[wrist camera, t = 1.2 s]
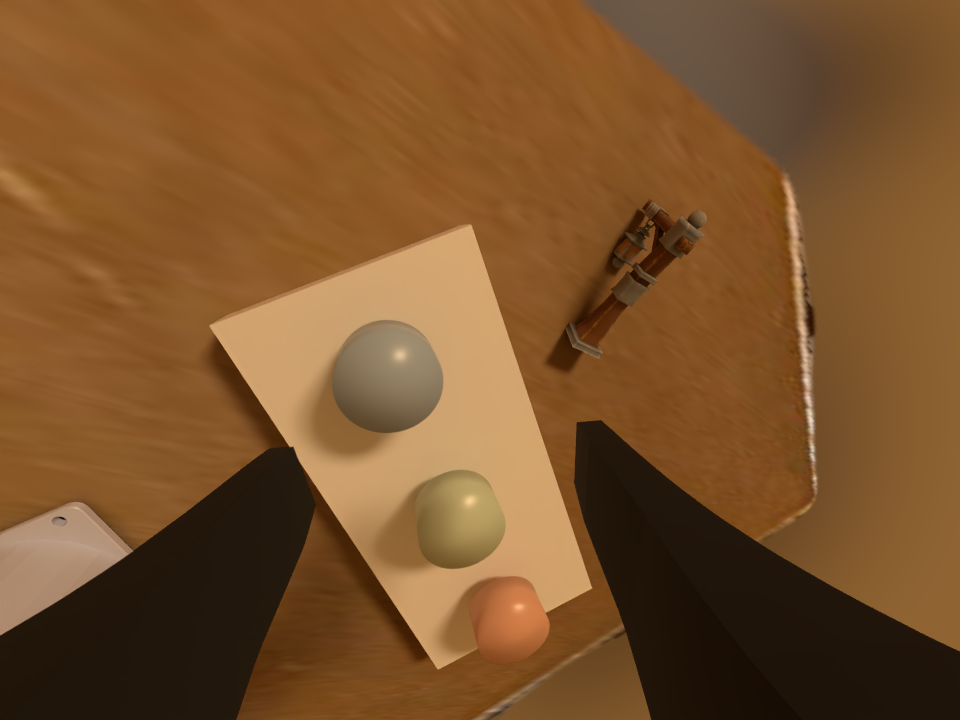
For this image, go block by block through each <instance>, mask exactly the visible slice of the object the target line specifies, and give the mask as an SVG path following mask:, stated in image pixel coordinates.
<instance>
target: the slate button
mask: <svg viewBox="0 0 960 720" xmlns="http://www.w3.org/2000/svg"><path fill="white" fill-rule="evenodd" d="M332 389H333V395H334V398H335V401H336V403H337V405H338V407H339V409H340V410H341V412H342V413H343V414H344V415H345V416H346V418H348V419H349V420H350V421H351V422H352V423H354V424H356V425H357V426H359V427H361V428H363V429H366V430H369V431H373V432H378V433H394V432H400V431H404V430H407V429H409V428H412V427H414V426H416V425H418V424H419V423H421V422H422V421H423V420H425V419H426V418H427V417H428V416H429V415H430V414H431V413H432V412H433V410H434V409H435V407H436V406H437V404H438V402H439V400H440V397H441V395H442V390H443V372H442V368H441V365H440V363H439V361H438V359H437V356H436V354H435V352H434V350H433V348H432V346H431V344H430V342H429V341H428V340H427V338H426V337H425V336H424V335H423V334H422V333H421V332H420V331H419V330H417V329H416V328H414V327H413V326H411V325H409V324H407V323H404V322H400V321H395V320H379V321H374V322H371V323H368V324H365V325H363V326H361V327H360V328H358V329H357V330H355V331H354V332H353V333H352V334H351V335H350V336H349V337H348V338H347V339H346V340H345V342H344V343H343V345H342V347H341V349H340V352H339V355H338V359H337V362H336V366H335V369H334V373H333V379H332Z"/></svg>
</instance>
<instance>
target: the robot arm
mask: <svg viewBox="0 0 960 720" xmlns="http://www.w3.org/2000/svg"><path fill="white" fill-rule="evenodd" d="M574 484H575V488H576V492H577V496H578V500H579V504H580V507H581V511H582V515H583V519H584V522H585V525H586V527H587V530H588V533H589V535H590V538H591V540H592V543H593V546H594V548H595V551H596V554H597V556H598V559H599V561H600V564H601V566H602V569H603V572H604V574H605V577H606V579H607V582H608V585H609V587H610V590H611V592H612V595H613V597H614V600H615V603H616V605H617V608H618V610H619V613H620V616H621V619H622V622H623V625H624V627H625V630H626V633H627V636H628V640H629V643H630V647H631V650H632V653H633V657H634V660H635V664H636V667H637V671H638V674H639V677H640V681H641V684H642V688H643V691H644V695H645V698H646V702H647V706H648V709H649V713H650V716H651V720H960V651H958V650H955V649H953V648H951V647H949V646H947V645H945V644H943V643H940V642H938V641H936V640H934V639H932V638H930V637H928V636H926V635H924V634H922V633H920V632H918V631H916V630H914V629H912V628H910V627H908V626H907V625H905V624H903V623H901V622H899V621H897V620H895V619H893V618H891V617H889V616H887V615H885V614H883V613H881V612H879V611H877V610H875V609H873V608H871V607H869V606H868V605H865V604H864V603H862V602H860V601H858V600H856V599H855V598H853V597H851V596H849V595H847V594H845V593H843V592H842V591H840V590H838V589H836V588H834V587H832V586H830V585H829V584H827V583H825V582H823V581H822V580H820V579H818V578H817V577H815V576H813V575H811V574H810V573H808V572H806V571H804V570H802V569H801V568H799V567H797V566H796V565H794V564H792V563H791V562H789V561H787V560H785V559H784V558H782V557H780V556H779V555H777V554H776V553H774V552H772V551H771V550H769V549H767V548H766V547H764V546H763V545H761V544H759V543H758V542H756V541H755V540H753V539H752V538H750V537H749V536H747V535H746V534H744V533H743V532H741V531H740V530H738V529H737V528H735V527H734V526H732V525H731V524H729V523H727V522H726V521H724V520H723V519H722V518H720V517H719V516H717V515H716V514H714V513H713V512H712V511H710V510H709V509H707V508H706V507H705V506H703V505H702V504H701V503H699V502H698V501H697V500H695V499H694V498H693V497H691V496H690V495H689V494H687V493H686V492H685V491H683V490H682V489H681V488H679V487H678V486H677V485H676V484H674V483H673V482H672V481H670V480H669V479H668V478H667V477H666V476H664V475H663V474H662V473H661V472H660V471H658V470H657V469H656V468H655V467H654V466H652V465H651V464H650V463H649V462H648V461H646V460H645V459H644V458H643V457H642V456H641V455H639V454H638V453H637V452H636V451H635V450H634V449H633V448H632V447H630V446H629V445H628V444H627V443H626V442H625V441H624V440H623V439H621V438H620V437H619V436H618V435H617V434H616V433H615V432H614V431H613V430H611V429H610V428H609V427H608V426H607V425H606V424H605V423H604V422H602V421H601V420H599V421H587V422H577V430H576V455H575V479H574ZM315 505H316V504H315V501H314V499H313V496H312V494H311V491H310V488H309V486H308V483H307V481H306V478H305V475H304V473H303V470H302V468H301V465H300V462H299V460H298V457H297V455H296V452H295V449H294V447H282V448H270V449H268V450H267V451H265V452H264V453H262V454H261V455H260V456H258V457H257V458H255V459H254V460H253V461H251V462H250V463H249V464H248V465H246V466H245V467H244V468H242V469H241V470H240V471H238V472H237V473H236V474H235V475H233V476H232V477H231V478H229V479H228V480H227V481H226V482H224V483H223V484H222V485H221V486H219V487H218V488H217V489H215V490H214V491H213V492H212V493H210V494H209V495H208V496H206V497H205V498H204V499H203V500H201V501H200V502H199V503H197V504H196V505H195V506H194V507H192V508H191V509H190V510H188V511H187V512H186V513H184V514H183V515H182V516H180V517H179V518H178V519H176V520H175V521H174V522H172V523H171V524H169V525H168V526H167V527H165V528H164V529H163V530H161V531H160V532H159V533H157V534H156V535H154V536H153V537H152V538H150V539H149V540H148V541H146V542H145V543H144V544H142V545H141V546H139V547H138V548H137V549H135V550H134V551H133V550H132V549H131V548H130V547H129V546H128V545H127V544H126V543H125V542H124V541H123V540H122V539H121V538H120V537H119V536H118V535H117V534H116V533H115V532H114V531H113V530H112V529H110V528H109V527H108V526H107V525H106V524H105V523H104V522H103V521H102V520H101V519H100V518H99V517H98V516H97V515H96V514H95V513H94V512H93V511H92V510H91V509H90V508H89V507H88V506H87V505H85V504H84V503H80V502H72V503H68V504H66V505H63V506H61V507H58V508H56V509H54V510H51V511H49V512H47V513H44V514H42V515H39V516H37V517H35V518H32V519H30V520H28V521H25V522H23V523H21V524H18V525H16V526H13V527H11V528H9V529H6V530H4V531H2V532H0V720H236V719H237V716H238V713H239V710H240V707H241V704H242V700H243V697H244V694H245V691H246V688H247V685H248V682H249V679H250V676H251V673H252V670H253V667H254V664H255V662H256V659H257V657H258V654H259V651H260V649H261V646H262V644H263V641H264V639H265V636H266V634H267V632H268V629H269V627H270V625H271V622H272V620H273V618H274V615H275V613H276V611H277V608H278V606H279V604H280V601H281V599H282V597H283V594H284V592H285V590H286V588H287V585H288V583H289V581H290V578H291V576H292V573H293V571H294V569H295V566H296V564H297V562H298V559H299V557H300V554H301V552H302V549H303V547H304V544H305V541H306V538H307V535H308V531H309V528H310V524H311V521H312V517H313V513H314V509H315ZM60 517H63V518H65V519H66V520H63V519H61V518H60Z"/></svg>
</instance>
